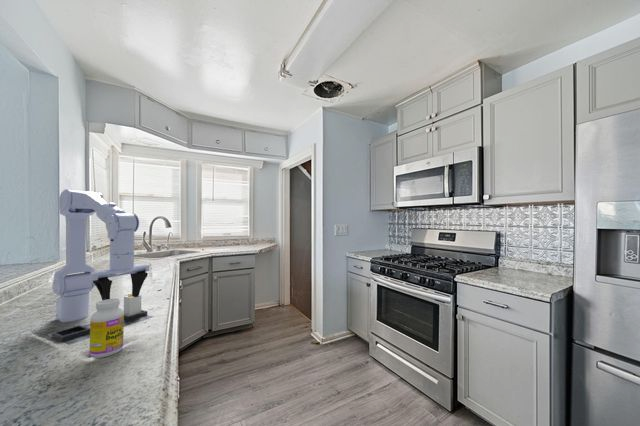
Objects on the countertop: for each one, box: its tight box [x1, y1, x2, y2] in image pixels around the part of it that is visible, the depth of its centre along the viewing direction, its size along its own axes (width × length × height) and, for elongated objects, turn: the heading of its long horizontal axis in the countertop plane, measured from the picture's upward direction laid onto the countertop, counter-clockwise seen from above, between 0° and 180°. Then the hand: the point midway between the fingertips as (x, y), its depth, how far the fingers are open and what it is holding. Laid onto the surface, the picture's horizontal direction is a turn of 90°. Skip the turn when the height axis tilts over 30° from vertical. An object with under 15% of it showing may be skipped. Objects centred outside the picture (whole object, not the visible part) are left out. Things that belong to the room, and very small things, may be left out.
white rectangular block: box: [123, 293, 142, 316], centre depth 88 cm, size 4×4×8 cm
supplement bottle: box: [89, 298, 125, 359], centre depth 66 cm, size 7×7×13 cm
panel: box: [46, 309, 155, 346], centre depth 81 cm, size 14×22×2 cm, turn 154°
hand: (121, 300), depth 76 cm, fingers open, 7 cm apart
